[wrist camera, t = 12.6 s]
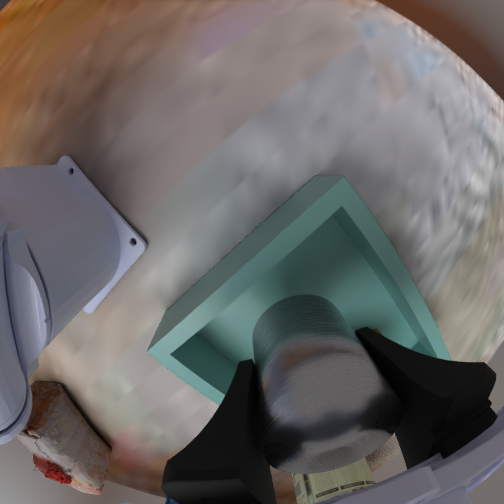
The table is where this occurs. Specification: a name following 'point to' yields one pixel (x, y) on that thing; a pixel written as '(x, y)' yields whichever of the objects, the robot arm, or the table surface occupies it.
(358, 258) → the tote
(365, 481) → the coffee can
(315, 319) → the metal cylinder
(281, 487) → the table surface
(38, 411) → the food item
